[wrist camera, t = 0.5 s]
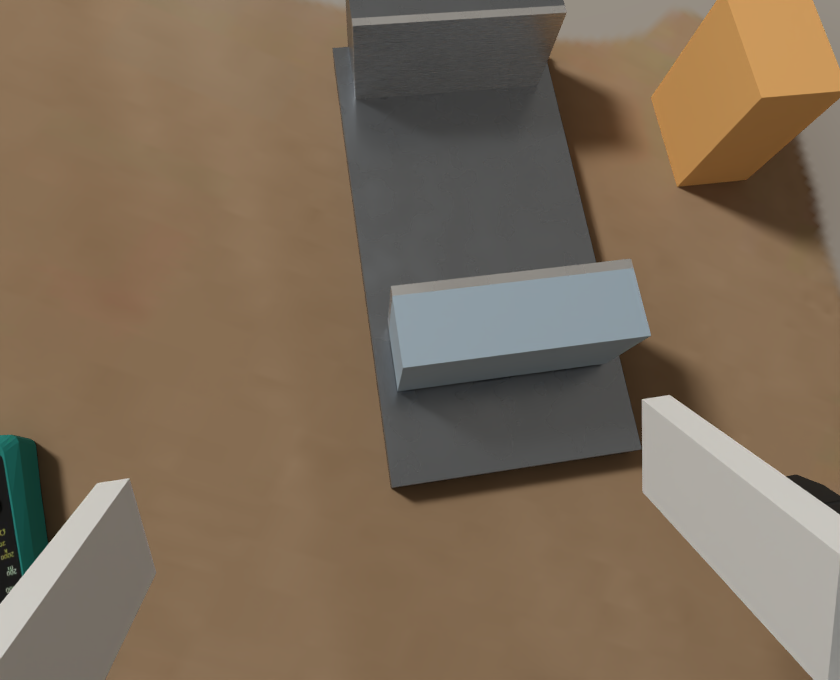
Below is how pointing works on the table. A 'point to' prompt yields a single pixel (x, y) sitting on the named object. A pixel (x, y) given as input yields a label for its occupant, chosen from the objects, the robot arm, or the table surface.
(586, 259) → the vise base
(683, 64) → the light orange block
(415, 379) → the block
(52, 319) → the table surface
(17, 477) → the digital multimeter
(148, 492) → the table surface
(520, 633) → the table surface
